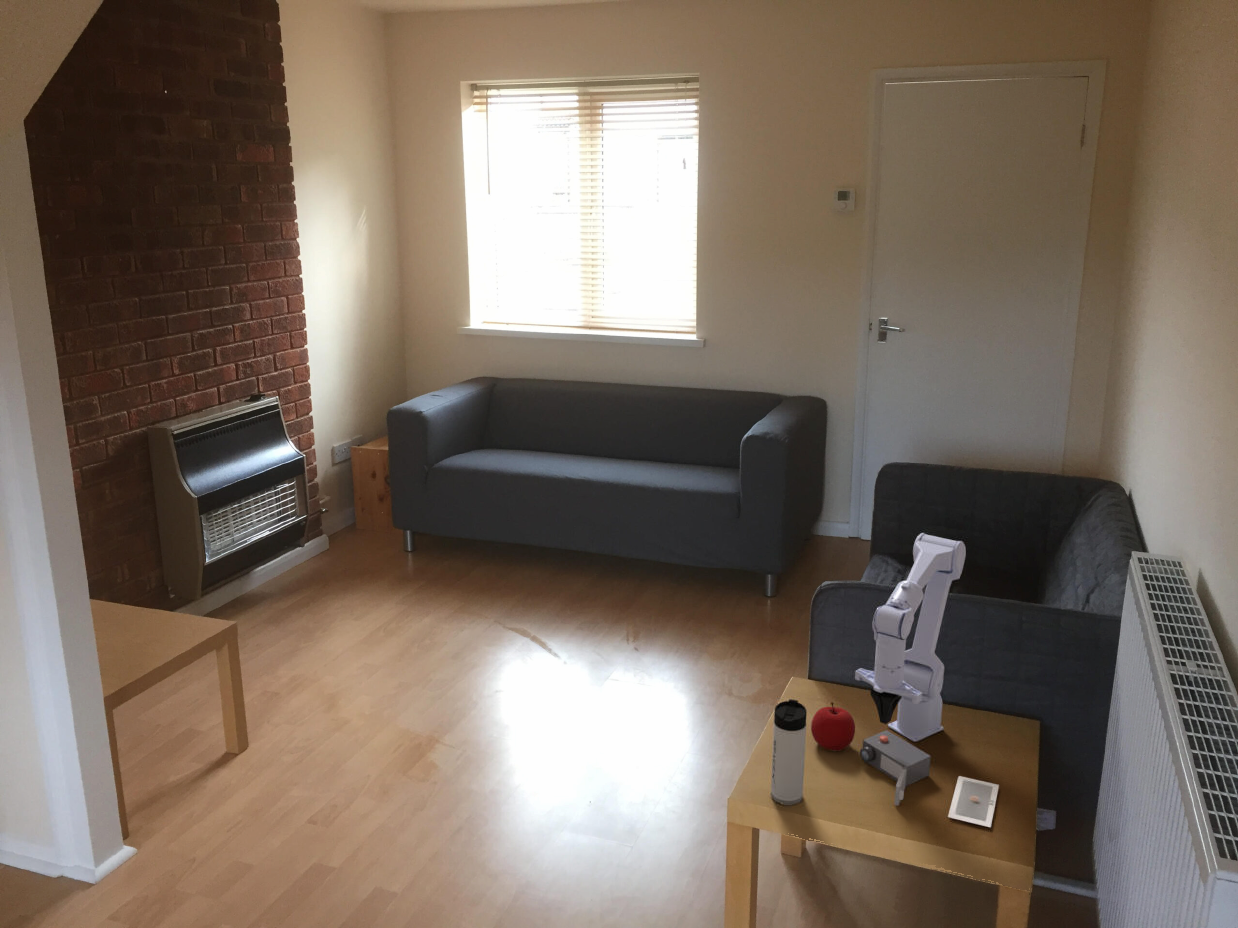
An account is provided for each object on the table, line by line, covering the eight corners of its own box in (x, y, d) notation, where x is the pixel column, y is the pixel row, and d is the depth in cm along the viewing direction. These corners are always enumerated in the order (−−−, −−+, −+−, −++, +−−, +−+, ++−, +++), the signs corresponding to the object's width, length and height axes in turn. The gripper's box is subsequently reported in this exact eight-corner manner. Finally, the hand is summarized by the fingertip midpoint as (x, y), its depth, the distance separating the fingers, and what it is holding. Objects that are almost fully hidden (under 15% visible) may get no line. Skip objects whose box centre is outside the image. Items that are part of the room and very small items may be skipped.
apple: (808, 753, 225) (811, 712, 222) (811, 731, 233) (813, 691, 230) (853, 759, 223) (855, 717, 220) (854, 736, 231) (857, 696, 228)
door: (901, 785, 213) (902, 765, 212) (909, 787, 213) (910, 767, 211) (893, 806, 207) (895, 785, 206) (901, 808, 206) (903, 787, 205)
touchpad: (947, 821, 203) (948, 811, 202) (958, 780, 216) (959, 771, 215) (990, 832, 200) (991, 822, 199) (998, 789, 213) (999, 780, 212)
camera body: (885, 748, 226) (886, 727, 225) (928, 775, 217) (930, 753, 215) (855, 761, 222) (857, 739, 220) (899, 789, 212) (901, 766, 211)
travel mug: (805, 789, 212) (809, 701, 207) (799, 808, 206) (804, 718, 201) (774, 783, 214) (778, 696, 209) (767, 802, 208) (771, 712, 203)
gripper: (848, 656, 216) (844, 715, 220) (910, 681, 206) (905, 742, 210) (867, 645, 221) (863, 702, 225) (929, 669, 211) (924, 728, 215)
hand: (885, 721), depth 218 cm, fingers closed
